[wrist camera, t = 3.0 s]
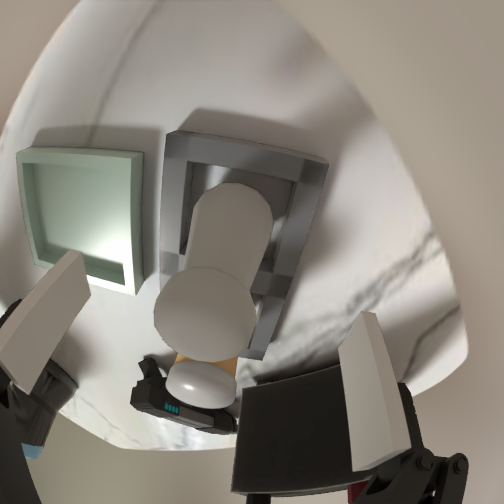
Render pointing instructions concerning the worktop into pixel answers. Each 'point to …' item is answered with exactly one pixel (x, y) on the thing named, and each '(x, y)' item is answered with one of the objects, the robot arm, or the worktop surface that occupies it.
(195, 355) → the salt shaker
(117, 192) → the tray
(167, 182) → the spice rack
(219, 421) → the gun
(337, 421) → the voltmeter
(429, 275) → the worktop surface
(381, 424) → the robot arm
